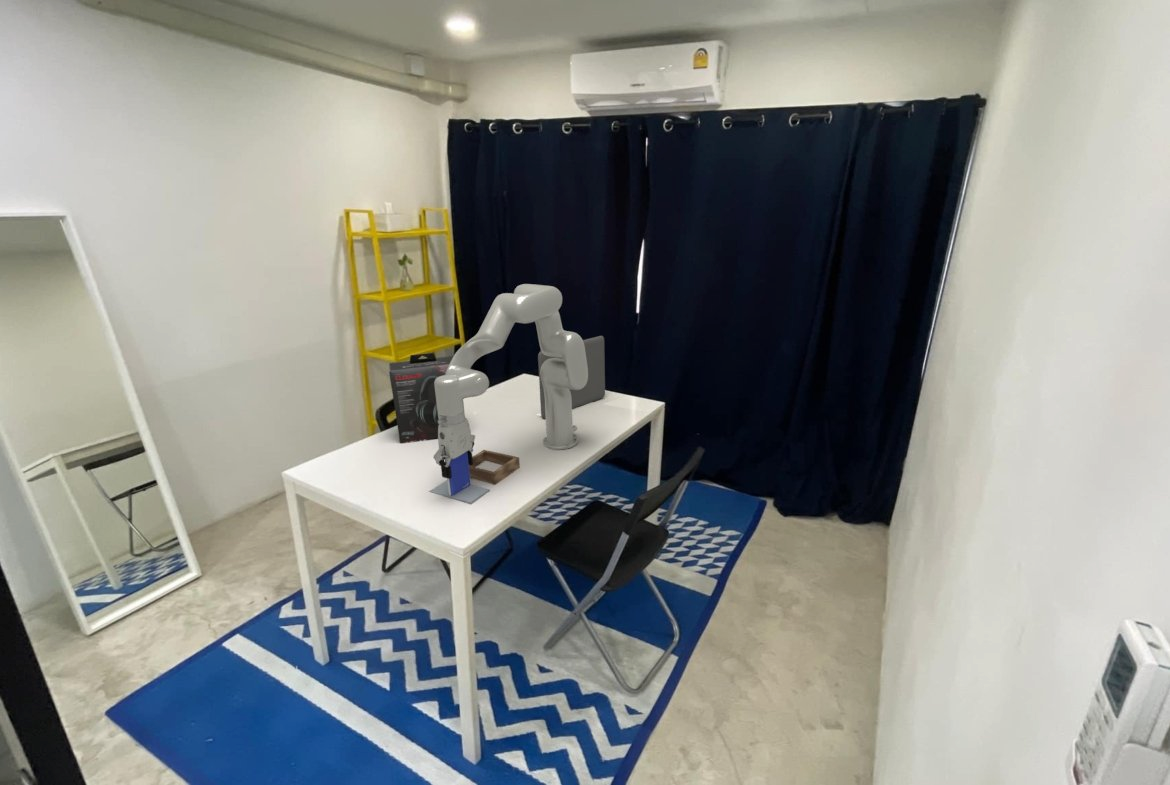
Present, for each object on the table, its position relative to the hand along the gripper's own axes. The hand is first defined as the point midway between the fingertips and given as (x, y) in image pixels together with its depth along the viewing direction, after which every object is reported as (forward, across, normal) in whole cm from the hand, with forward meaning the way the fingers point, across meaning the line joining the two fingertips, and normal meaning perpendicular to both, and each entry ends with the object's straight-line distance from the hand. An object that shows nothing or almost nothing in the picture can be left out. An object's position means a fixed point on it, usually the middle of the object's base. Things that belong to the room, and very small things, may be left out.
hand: (458, 470), depth 167 cm
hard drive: (+7, 0, 0) cm, 7 cm away
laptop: (+8, +82, +17) cm, 84 cm away
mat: (+7, 0, 0) cm, 7 cm away
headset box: (+8, +30, +38) cm, 49 cm away
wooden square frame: (+7, +15, 0) cm, 16 cm away
